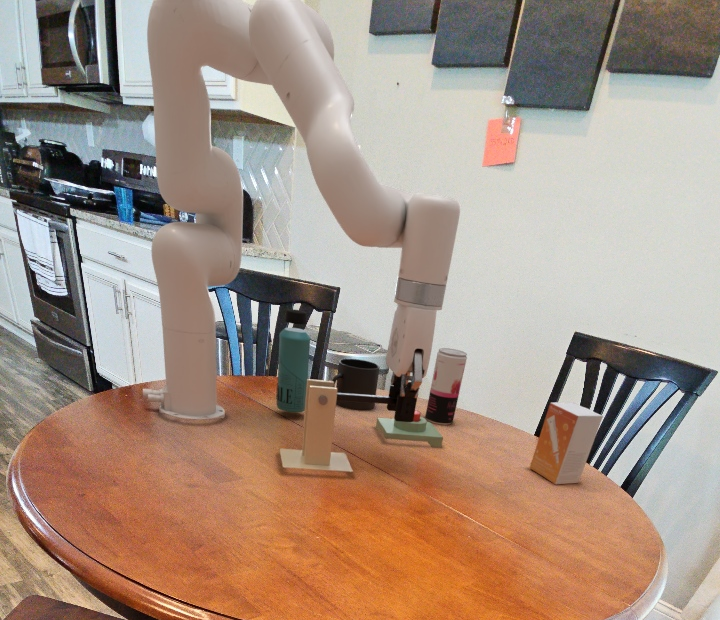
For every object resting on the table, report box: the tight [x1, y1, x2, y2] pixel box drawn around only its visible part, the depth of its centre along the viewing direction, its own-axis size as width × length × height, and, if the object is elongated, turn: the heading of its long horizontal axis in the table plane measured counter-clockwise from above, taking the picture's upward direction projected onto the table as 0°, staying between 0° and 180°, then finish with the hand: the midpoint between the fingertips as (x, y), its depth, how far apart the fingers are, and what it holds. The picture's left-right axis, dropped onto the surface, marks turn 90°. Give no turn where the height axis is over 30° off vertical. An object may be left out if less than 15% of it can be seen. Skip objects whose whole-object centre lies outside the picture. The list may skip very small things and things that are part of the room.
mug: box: [331, 358, 381, 411], centre depth 135 cm, size 9×12×9 cm
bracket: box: [279, 378, 354, 473], centre depth 99 cm, size 12×9×14 cm
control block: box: [375, 416, 444, 449], centre depth 123 cm, size 12×10×4 cm
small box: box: [529, 401, 604, 485], centre depth 112 cm, size 8×6×13 cm
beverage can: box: [424, 347, 468, 426], centre depth 133 cm, size 7×6×15 cm
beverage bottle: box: [275, 308, 312, 413], centre depth 120 cm, size 6×7×20 cm
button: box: [413, 409, 422, 422], centre depth 121 cm, size 4×4×2 cm
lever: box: [324, 386, 400, 405], centre depth 98 cm, size 16×5×2 cm, turn 100°
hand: (399, 414), depth 100 cm, fingers closed on lever, 5 cm apart
